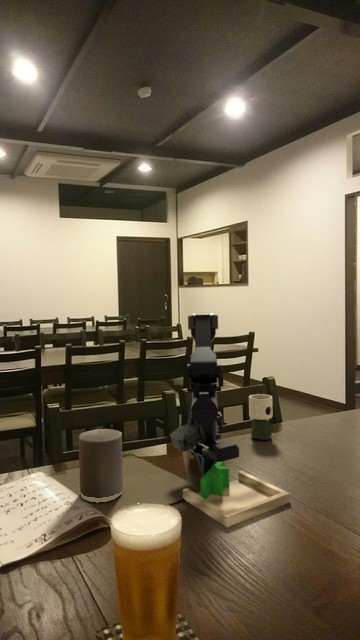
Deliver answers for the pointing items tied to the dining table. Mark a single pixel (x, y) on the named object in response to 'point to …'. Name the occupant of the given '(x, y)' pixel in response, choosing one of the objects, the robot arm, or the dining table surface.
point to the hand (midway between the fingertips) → (205, 477)
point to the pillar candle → (100, 463)
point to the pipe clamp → (215, 480)
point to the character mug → (260, 415)
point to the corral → (239, 500)
